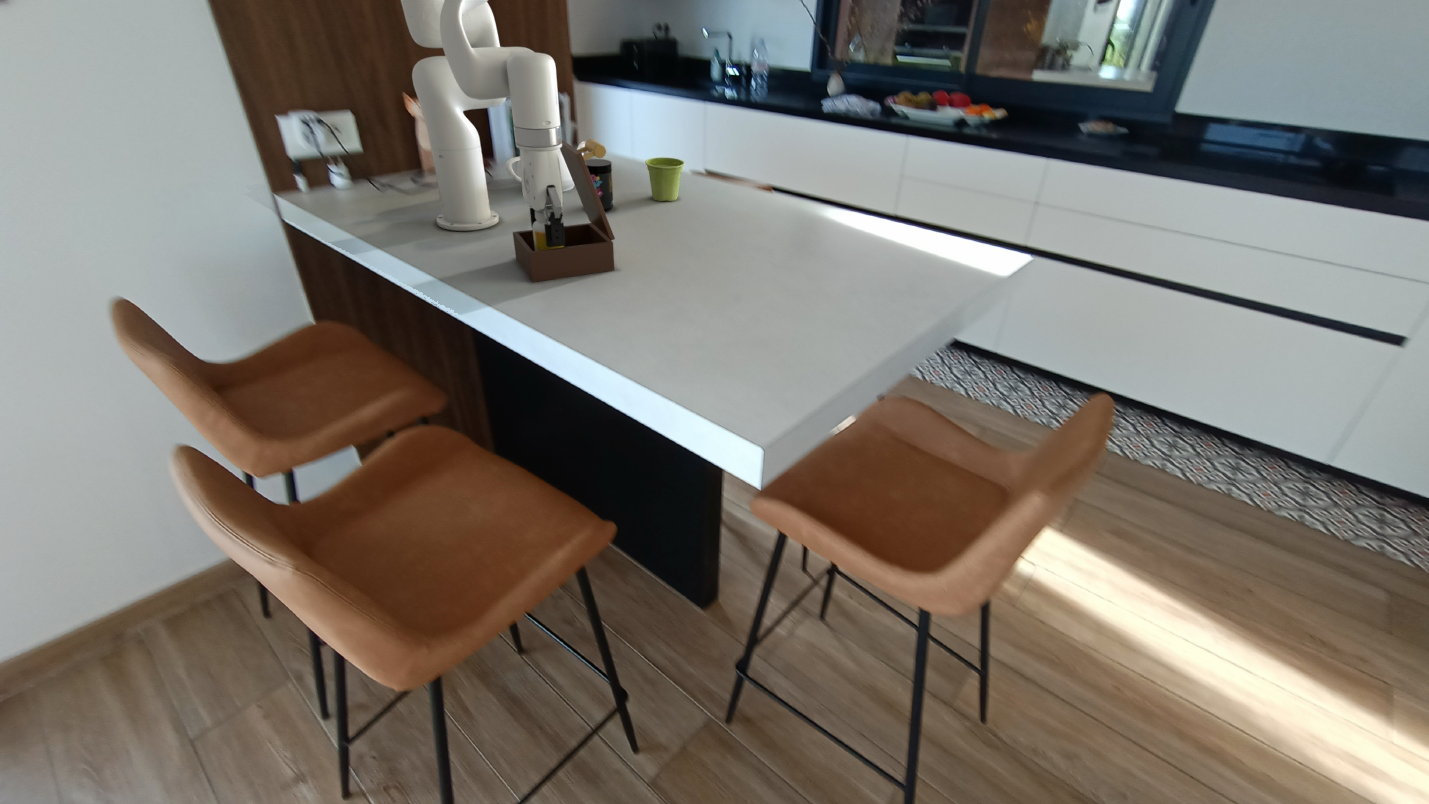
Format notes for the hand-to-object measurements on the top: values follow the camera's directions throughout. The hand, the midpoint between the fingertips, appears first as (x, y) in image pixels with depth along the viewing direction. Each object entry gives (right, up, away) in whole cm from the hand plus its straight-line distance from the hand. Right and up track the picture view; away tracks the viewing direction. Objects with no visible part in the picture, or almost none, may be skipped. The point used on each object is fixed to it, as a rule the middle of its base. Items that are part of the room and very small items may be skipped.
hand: (548, 237), depth 119 cm
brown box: (+2, -4, +4) cm, 6 cm away
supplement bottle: (0, -4, +3) cm, 5 cm away
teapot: (-11, +24, +48) cm, 55 cm away
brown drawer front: (+7, +8, -1) cm, 10 cm away
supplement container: (+3, +15, +34) cm, 37 cm away
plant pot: (+18, +20, +43) cm, 51 cm away
